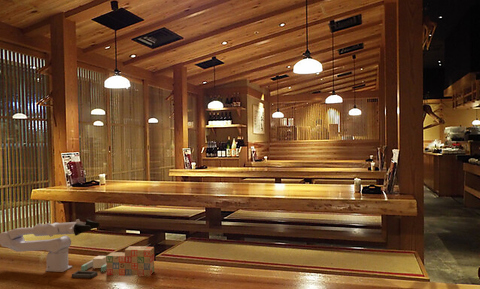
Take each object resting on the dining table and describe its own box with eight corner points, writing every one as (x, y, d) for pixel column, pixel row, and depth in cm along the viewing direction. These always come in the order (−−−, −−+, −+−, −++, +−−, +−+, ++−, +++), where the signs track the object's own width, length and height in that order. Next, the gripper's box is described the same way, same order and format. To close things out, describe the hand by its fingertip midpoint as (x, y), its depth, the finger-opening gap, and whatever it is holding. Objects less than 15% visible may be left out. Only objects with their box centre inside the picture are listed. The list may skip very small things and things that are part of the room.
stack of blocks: (106, 275, 179) (105, 249, 179) (111, 271, 185) (111, 245, 185) (150, 276, 177) (150, 249, 177) (154, 271, 183) (154, 246, 183)
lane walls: (81, 270, 185) (81, 265, 185) (92, 264, 195) (92, 259, 195) (103, 272, 183) (103, 266, 183) (114, 265, 193) (114, 260, 193)
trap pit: (71, 277, 176) (71, 274, 176) (78, 273, 181) (78, 270, 181) (91, 278, 175) (91, 275, 175) (97, 274, 179) (97, 271, 179)
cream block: (92, 268, 189) (92, 258, 189) (98, 265, 194) (98, 255, 194) (102, 269, 188) (102, 258, 188) (107, 265, 193) (107, 255, 193)
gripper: (59, 223, 180) (85, 221, 178) (77, 217, 195) (102, 215, 192) (60, 237, 180) (86, 236, 178) (79, 230, 195) (103, 229, 192)
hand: (94, 226), depth 185 cm, fingers open, 7 cm apart
